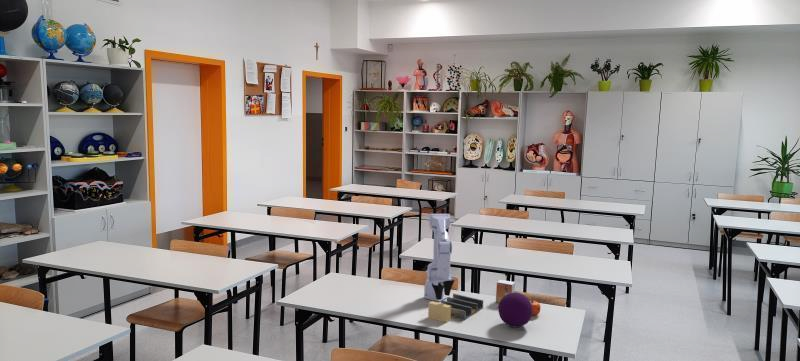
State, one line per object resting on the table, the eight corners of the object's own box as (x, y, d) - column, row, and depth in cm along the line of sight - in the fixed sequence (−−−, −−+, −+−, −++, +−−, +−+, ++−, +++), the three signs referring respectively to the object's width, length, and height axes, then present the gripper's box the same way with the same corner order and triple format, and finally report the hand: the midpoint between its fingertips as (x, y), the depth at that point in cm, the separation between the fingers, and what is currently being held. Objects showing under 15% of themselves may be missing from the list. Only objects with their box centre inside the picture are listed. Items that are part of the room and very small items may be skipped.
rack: (434, 312, 269) (434, 304, 269) (453, 301, 285) (453, 293, 284) (464, 320, 260) (464, 311, 260) (482, 308, 276) (483, 300, 276)
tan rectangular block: (428, 317, 263) (428, 302, 262) (431, 315, 266) (432, 301, 265) (447, 322, 258) (447, 307, 257) (450, 320, 260) (451, 305, 259)
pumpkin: (522, 316, 267) (523, 301, 266) (524, 310, 274) (524, 295, 273) (539, 318, 264) (540, 303, 263) (540, 312, 272) (541, 297, 271)
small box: (495, 302, 285) (496, 282, 283) (498, 299, 290) (499, 279, 288) (511, 305, 281) (512, 284, 280) (514, 302, 286) (515, 281, 284)
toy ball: (532, 321, 260) (534, 289, 258) (531, 334, 246) (533, 300, 244) (498, 318, 264) (500, 286, 262) (496, 330, 250) (497, 297, 248)
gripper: (443, 272, 250) (442, 302, 252) (459, 266, 262) (458, 295, 264) (429, 269, 254) (428, 299, 255) (445, 263, 266) (444, 292, 267)
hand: (442, 297), depth 260 cm, fingers open, 7 cm apart
